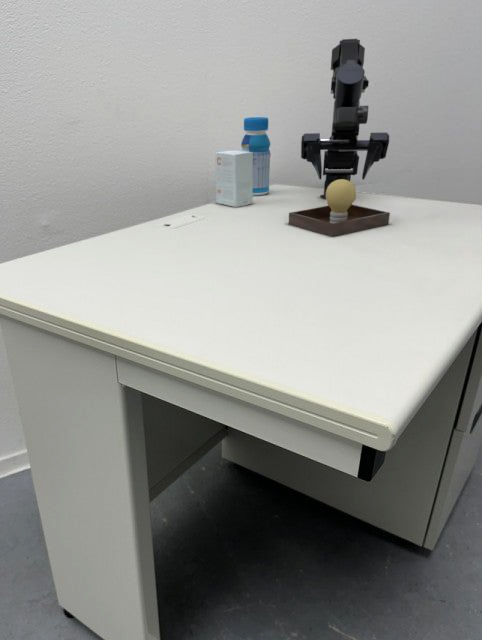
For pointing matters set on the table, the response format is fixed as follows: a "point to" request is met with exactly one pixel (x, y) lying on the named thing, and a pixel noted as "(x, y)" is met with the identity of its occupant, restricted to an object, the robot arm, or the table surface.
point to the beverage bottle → (258, 152)
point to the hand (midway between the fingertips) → (341, 178)
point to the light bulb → (340, 199)
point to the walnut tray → (355, 222)
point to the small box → (234, 178)
